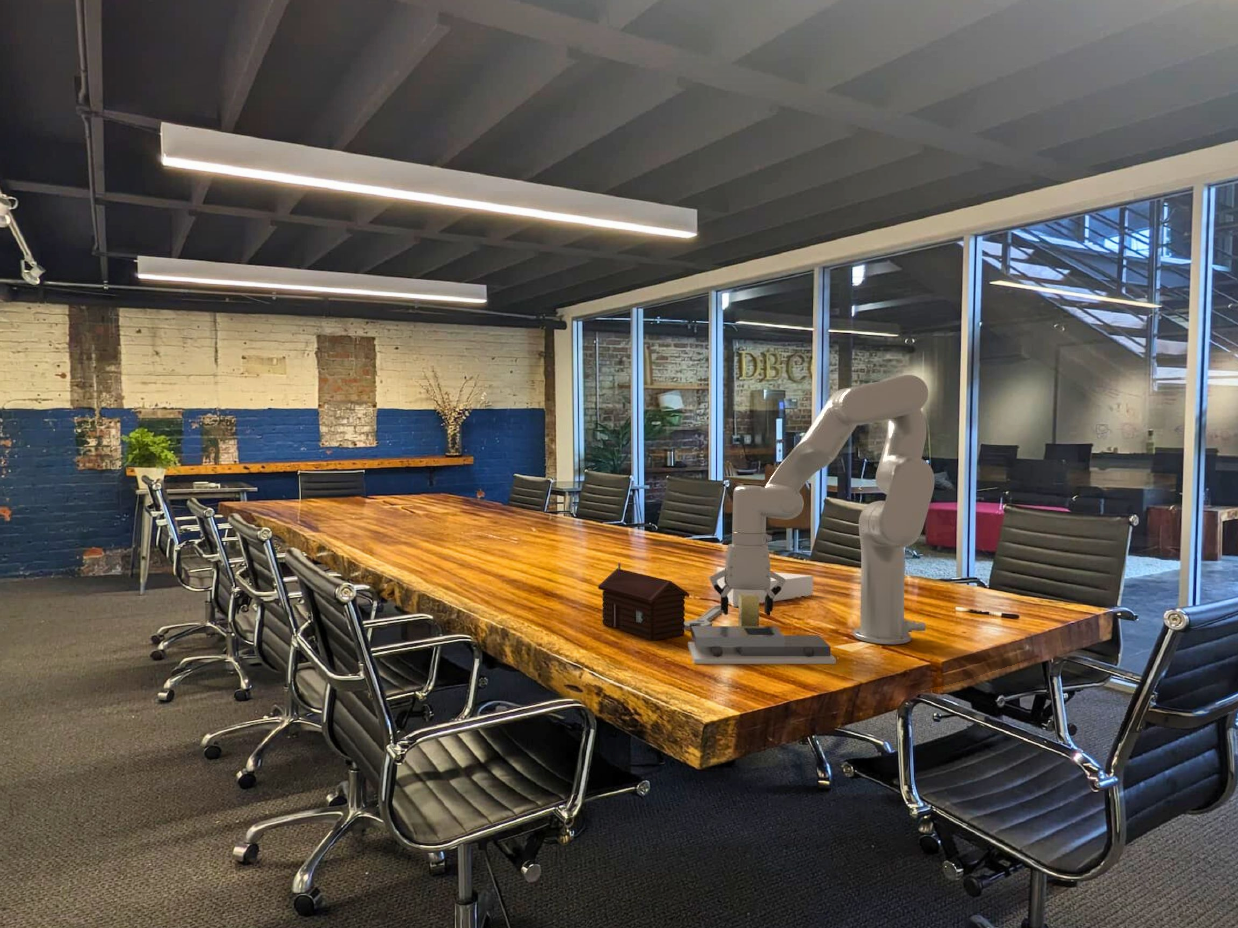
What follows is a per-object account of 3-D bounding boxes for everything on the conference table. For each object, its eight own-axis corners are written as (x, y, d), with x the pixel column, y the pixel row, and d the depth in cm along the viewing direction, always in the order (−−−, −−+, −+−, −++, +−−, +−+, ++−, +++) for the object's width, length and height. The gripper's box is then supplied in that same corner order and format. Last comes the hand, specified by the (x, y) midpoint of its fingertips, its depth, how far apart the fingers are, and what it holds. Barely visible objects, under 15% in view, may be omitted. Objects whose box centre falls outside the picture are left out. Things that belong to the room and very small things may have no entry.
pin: (755, 636, 177) (755, 594, 177) (758, 641, 173) (759, 597, 173) (738, 636, 177) (738, 594, 177) (741, 641, 173) (741, 597, 173)
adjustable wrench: (715, 610, 206) (715, 604, 206) (738, 613, 204) (738, 606, 203) (679, 630, 184) (679, 623, 184) (704, 634, 181) (704, 626, 181)
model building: (598, 624, 189) (598, 564, 189) (635, 618, 196) (635, 559, 195) (651, 642, 173) (651, 576, 172) (689, 634, 179) (689, 571, 179)
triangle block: (733, 609, 209) (733, 585, 208) (677, 592, 231) (677, 571, 231) (812, 597, 224) (813, 575, 224) (753, 582, 246) (753, 562, 246)
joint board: (818, 646, 170) (818, 641, 170) (835, 663, 157) (835, 658, 157) (687, 646, 169) (687, 641, 169) (694, 663, 156) (694, 658, 156)
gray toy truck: (818, 643, 168) (818, 625, 168) (831, 656, 158) (831, 637, 158) (690, 643, 168) (690, 625, 168) (695, 656, 158) (695, 637, 158)
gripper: (782, 538, 178) (780, 611, 179) (708, 536, 178) (706, 609, 179) (790, 542, 171) (787, 618, 172) (712, 541, 171) (710, 616, 171)
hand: (746, 613), depth 175 cm, fingers open, 9 cm apart
